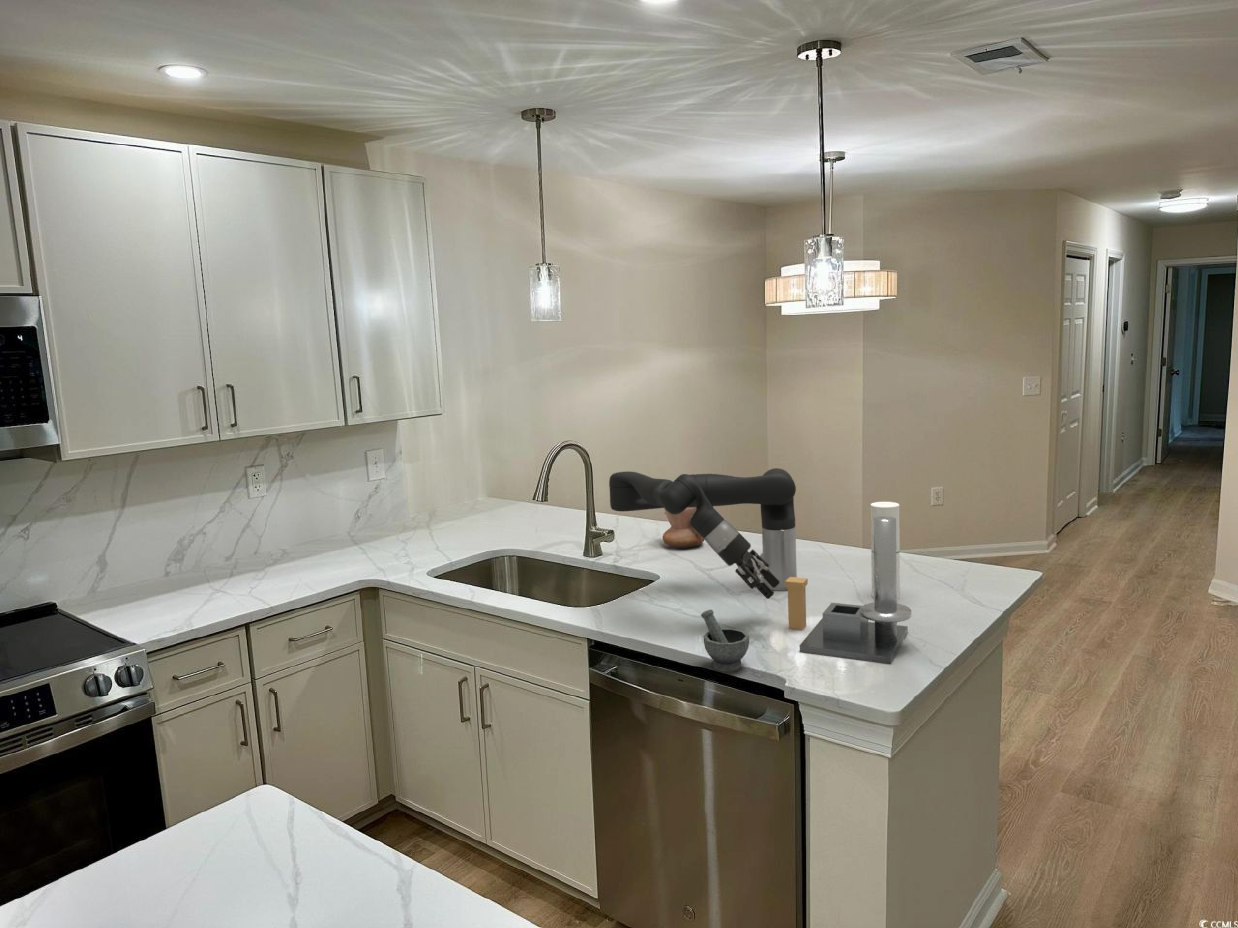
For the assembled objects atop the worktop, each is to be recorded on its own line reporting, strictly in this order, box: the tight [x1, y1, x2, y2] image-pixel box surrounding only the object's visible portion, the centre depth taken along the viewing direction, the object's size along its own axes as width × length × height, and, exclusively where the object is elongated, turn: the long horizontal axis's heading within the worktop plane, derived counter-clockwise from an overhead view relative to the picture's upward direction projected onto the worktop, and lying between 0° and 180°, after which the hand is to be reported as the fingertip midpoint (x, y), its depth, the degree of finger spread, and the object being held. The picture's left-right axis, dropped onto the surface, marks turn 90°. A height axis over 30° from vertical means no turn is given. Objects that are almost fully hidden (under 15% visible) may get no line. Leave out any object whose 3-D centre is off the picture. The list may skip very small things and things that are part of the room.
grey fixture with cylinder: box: [799, 517, 912, 665], centre depth 194 cm, size 22×20×30 cm
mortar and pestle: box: [700, 609, 750, 672], centre depth 188 cm, size 11×9×12 cm
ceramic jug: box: [662, 507, 705, 549], centre depth 290 cm, size 18×14×14 cm
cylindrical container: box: [870, 501, 901, 600], centre depth 226 cm, size 7×7×25 cm
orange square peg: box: [785, 576, 809, 631], centre depth 208 cm, size 4×4×12 cm
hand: (774, 590), depth 208 cm, fingers open, 8 cm apart
